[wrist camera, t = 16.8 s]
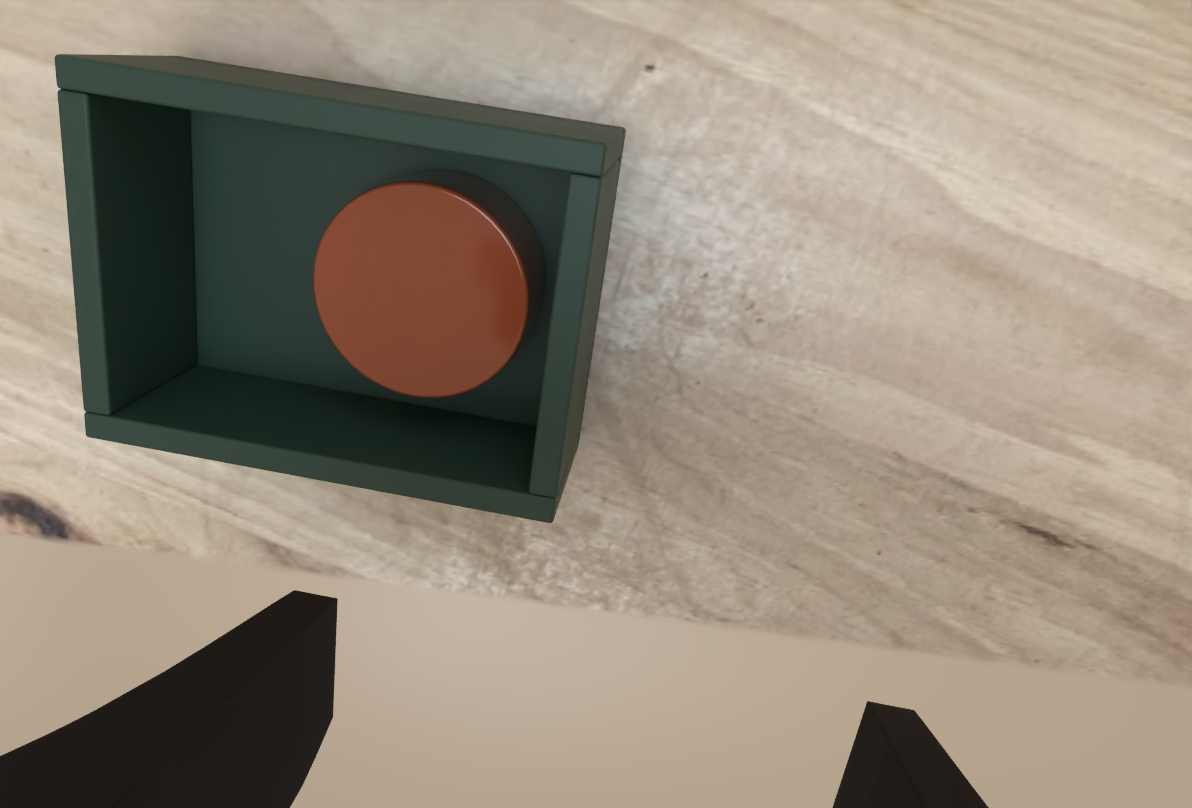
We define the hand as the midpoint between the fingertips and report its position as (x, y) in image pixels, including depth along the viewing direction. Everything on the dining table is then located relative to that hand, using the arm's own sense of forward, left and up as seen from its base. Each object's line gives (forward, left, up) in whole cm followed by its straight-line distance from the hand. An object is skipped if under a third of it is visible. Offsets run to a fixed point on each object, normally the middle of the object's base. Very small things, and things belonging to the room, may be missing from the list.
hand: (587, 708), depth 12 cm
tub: (+3, +7, -10) cm, 13 cm away
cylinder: (+3, +5, -10) cm, 11 cm away
